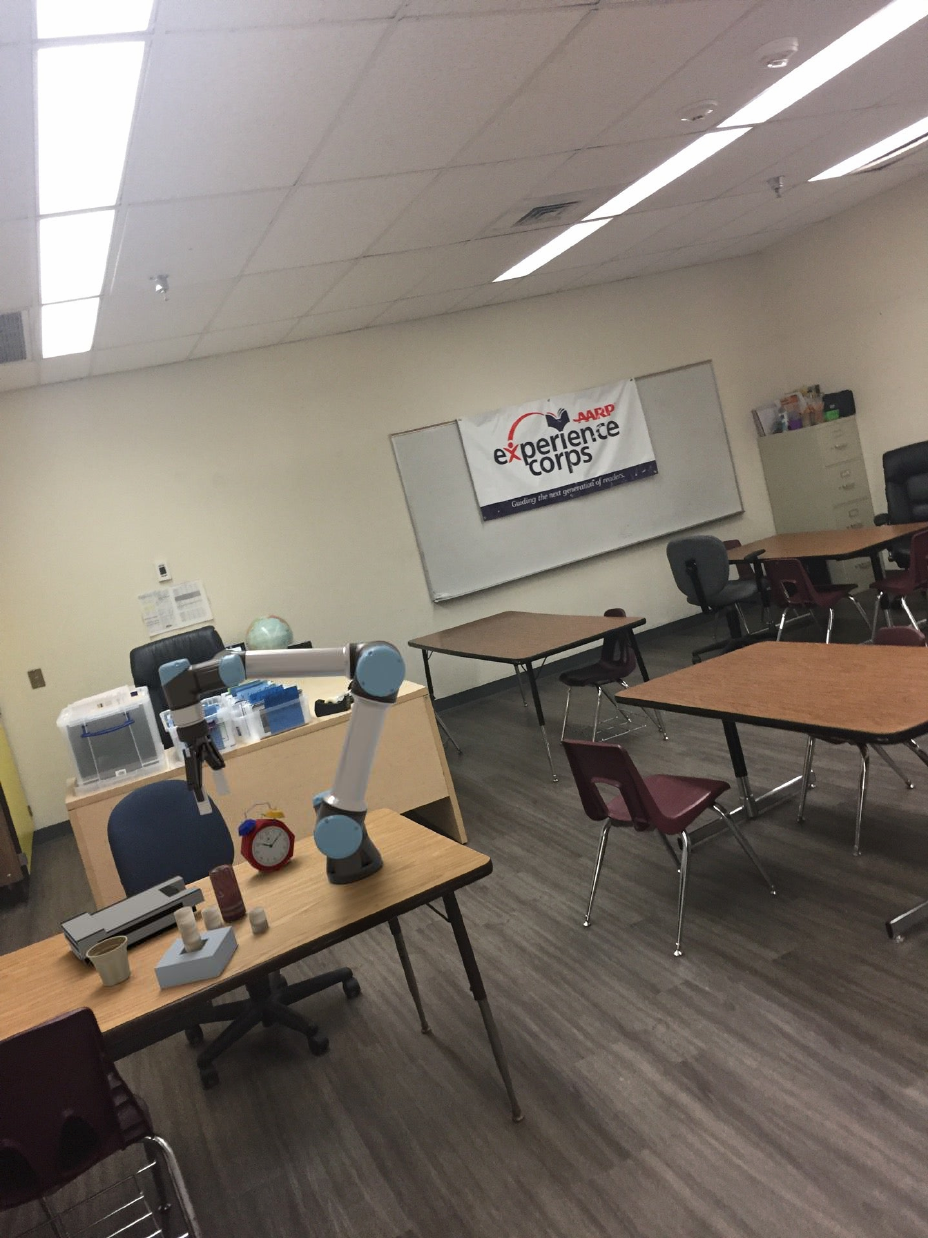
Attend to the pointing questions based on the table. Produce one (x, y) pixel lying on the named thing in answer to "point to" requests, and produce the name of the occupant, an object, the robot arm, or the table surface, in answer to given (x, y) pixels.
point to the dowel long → (188, 929)
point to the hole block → (196, 959)
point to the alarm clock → (266, 841)
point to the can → (227, 892)
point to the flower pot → (111, 960)
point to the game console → (132, 917)
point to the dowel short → (258, 919)
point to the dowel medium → (212, 918)
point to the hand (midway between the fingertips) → (215, 803)
